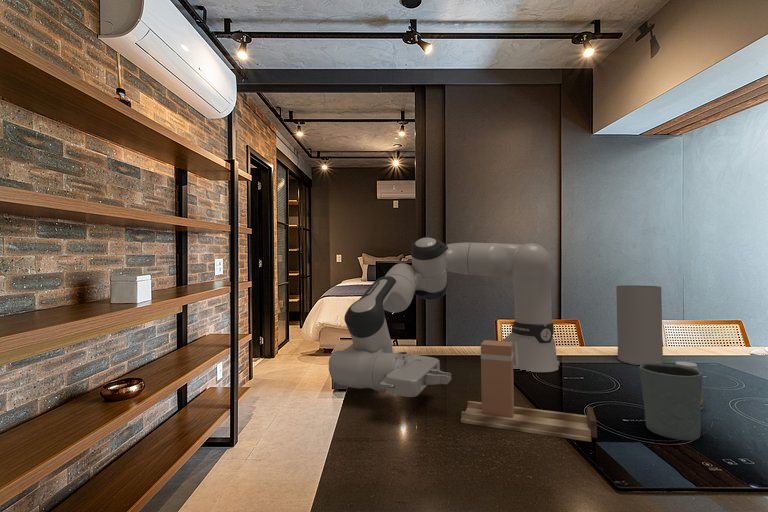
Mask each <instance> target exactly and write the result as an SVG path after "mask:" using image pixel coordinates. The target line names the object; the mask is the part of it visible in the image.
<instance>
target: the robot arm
mask: <svg viewBox="0 0 768 512" xmlns="http://www.w3.org/2000/svg"><path fill="white" fill-rule="evenodd" d="M410 248H411V249H410V256H411V265H410V264H407V263H403V262H402V263H396V264H395V265H393V266H392V267H391V268H390V269H389V270H388V271H387V272H386V274H385V275H384V276H381V277H379V278H377V279H376V280H375V281H374V282H373V283H372V284H371V285H370V286H369V287H368V288H367V290H366V291H365V292H364V294H363V295H362V296H361V297H360V298H359V299H357V300H356V301H355V302H353V303H352V304H351V305H350V306H349V307H348V308H347V310H346V311H345V314H344V317H343V318H344V322H345V325H346V327H347V330H348V332H349V334H350V337H351V341H352V343H351V345H349V346H348V347H347V348H344V349H343V350H334V351H332V352H331V354H330V357H329V360H328V372H329V375H330V378H331V380H332V381H333V382H334V383H335V384H338V385H340V386H343V387H346V388H347V387H348V388H354V389H360V390H362V389H372V390H374V391H377V392H386V393H388V394H390V395H394V396H395V395H396V396H401V397H405V398H415V397H418V396H419V395H420V394H421V393H422V392H423V390H425V388H426V387H428V386H429V385H430V386H434V385H448V384H449V383H450V382H451V381H452V374H451V372H447V371H446V372H445V371H442V370H441V369H440V368H441V367H440V366H441V362H440V360H439V358H436V357H432V356H426V355H418V354H410V352H408V351H401V352H393V344H392V339H391V336H390V332H389V327H388V323H387V320H386V315H385V311H386V312H389V313H395V314H396V313H400V312H403V311H405V310H406V309H407V308H409V307H410V305H411V303H412V300H413V299H414V296H416V297H419V298H421V299H423V300H427V301H436V300H439V299H441V298H442V297H444V296H445V295H446V294H447V290H448V282H447V279H448V275H447V274H448V273H449V272H450V273H454V274H460V275H469V276H482V277H483V276H485V277H504V278H505V277H507V278H512V283H513V294H514V295H513V297H514V321H512V322H511V324H510V325H509V326H510V327H511V333H509V334H508V335H507V336H505V338H503V339H502V340H501V341H506V342H513V369H520V370H519V371H522V370H526V371H525V372H529V371H531V372H530V373H553V372H556V371H558V370H559V369H560V368H559V366H560V361H559V360H558V356H557V348H556V346H557V345H556V340H555V339H554V336H553V335H554V334H555V333H554V332H555V325H554V323H553V318H552V317H553V314H552V313H553V312H552V311H553V309H552V307H553V305H552V300H553V299H552V276H551V275H552V272H551V270H552V269H551V268H552V267H551V264H552V258H551V255H550V253H549V251H548V250H547V249H546V248H545V247H544V246H542V245H541V244H538V243H532V242H529V243H524V244H523V243H522V244H519V243H517V244H516V243H501V242H500V243H499V242H471V241H469V242H455V243H449V244H446V243H445V242H442V241H441V240H440V239H438V238H435V237H432V236H425V237H420V238H418V239H416V240H415V241H414V242H413V243H412V244H411V247H410Z"/></svg>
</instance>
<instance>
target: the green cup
mask: <svg viewBox="0 0 768 512" xmlns="http://www.w3.org/2000/svg"><path fill="white" fill-rule="evenodd" d="M638 370H639V378H640V383H641V390H642V400H643V408H644V421H645V426H646V428H647V430H649V431H650V432H651V433H654V434H656V435H659V436H662V437H664V438H669V439H673V440H679V441H695V440H698V439H699V438H700V437H701V431H702V430H701V429H702V428H701V427H702V426H701V425H702V422H701V411H702V410H701V405H700V403H701V395H702V396H703V372H702V371H700V370H699V369H698V370H697V369H694V368H690V367H685V366H680V365H675V364H671V363H663V364H661V363H647V364H641V365H640V366H638Z"/></svg>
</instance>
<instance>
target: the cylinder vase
mask: <svg viewBox="0 0 768 512" xmlns="http://www.w3.org/2000/svg"><path fill="white" fill-rule="evenodd" d="M615 288H616V289H615V290H616V325H617V329H616V334H617V335H616V338H617V341H616V342H617V359H618V360H619V361H620V362H621V363H625V364H627V363H628V365H633V366H638V365H641V364H647V363H661V364H664V347H663V346H664V345H663V305H662V303H663V302H662V300H663V299H662V298H663V297H662V286H657V285H640V284H639V285H636V284H635V285H634V284H633V285H632V284H631V285H630V284H628V285H616V287H615Z"/></svg>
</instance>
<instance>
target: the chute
mask: <svg viewBox="0 0 768 512" xmlns="http://www.w3.org/2000/svg"><path fill="white" fill-rule="evenodd" d="M466 404H467V405H466V406H467V407H466V409H465V411H464V410H462V411H461V412H460V417H461V418H460V423H461V424H468V425H469V424H470V425H475V426H481V427H488V428H495V429H503V430H510V431H515V432H523V433H528V434H536V435H541V436H542V435H543V436H549V437H554V438H555V437H557V438H563V439H570V440H575V441H576V440H577V441H582V442H583V441H584V442H589V443H590V442H592V438H593V439H597V438H598V421H597V418H596V416H595V412H594V408H593V407H592V406H586V415H584V414H579V413H578V414H577V413H569V412H561V411H554V410H547V409H546V410H545V409H544V410H543V409H538V408H530V407H529V408H528V407H521V406H514V415H513V418H509V417H502V416H494V415H487V414H482V401H480V402H479V401H474V400H473V401H472V400H467V403H466Z"/></svg>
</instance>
